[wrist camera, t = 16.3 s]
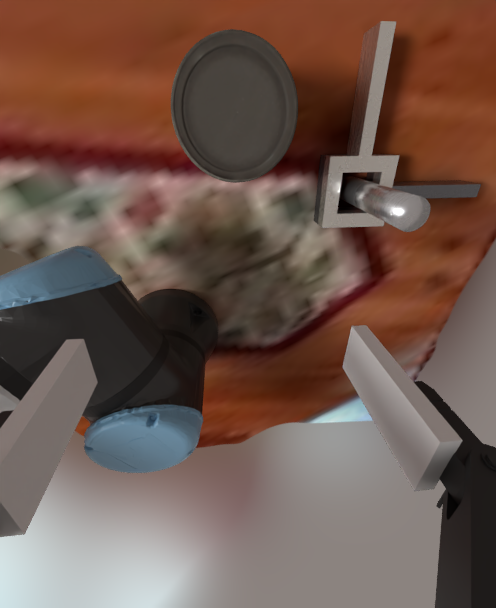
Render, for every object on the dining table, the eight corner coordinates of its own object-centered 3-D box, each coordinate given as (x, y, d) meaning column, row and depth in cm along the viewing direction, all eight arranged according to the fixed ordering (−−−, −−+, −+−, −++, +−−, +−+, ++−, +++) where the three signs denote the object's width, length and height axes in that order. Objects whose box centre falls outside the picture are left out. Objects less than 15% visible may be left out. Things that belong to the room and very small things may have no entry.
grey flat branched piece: (447, 216, 44) (466, 223, 40) (313, 220, 42) (322, 227, 39) (507, 35, 33) (540, 23, 30) (333, 33, 32) (346, 20, 29)
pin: (356, 200, 41) (424, 231, 28) (334, 200, 41) (392, 232, 27) (360, 175, 40) (434, 195, 26) (338, 176, 40) (400, 196, 26)
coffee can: (193, 58, 32) (175, 9, 20) (281, 81, 34) (314, 50, 22) (185, 159, 37) (166, 169, 25) (262, 175, 39) (280, 192, 27)
